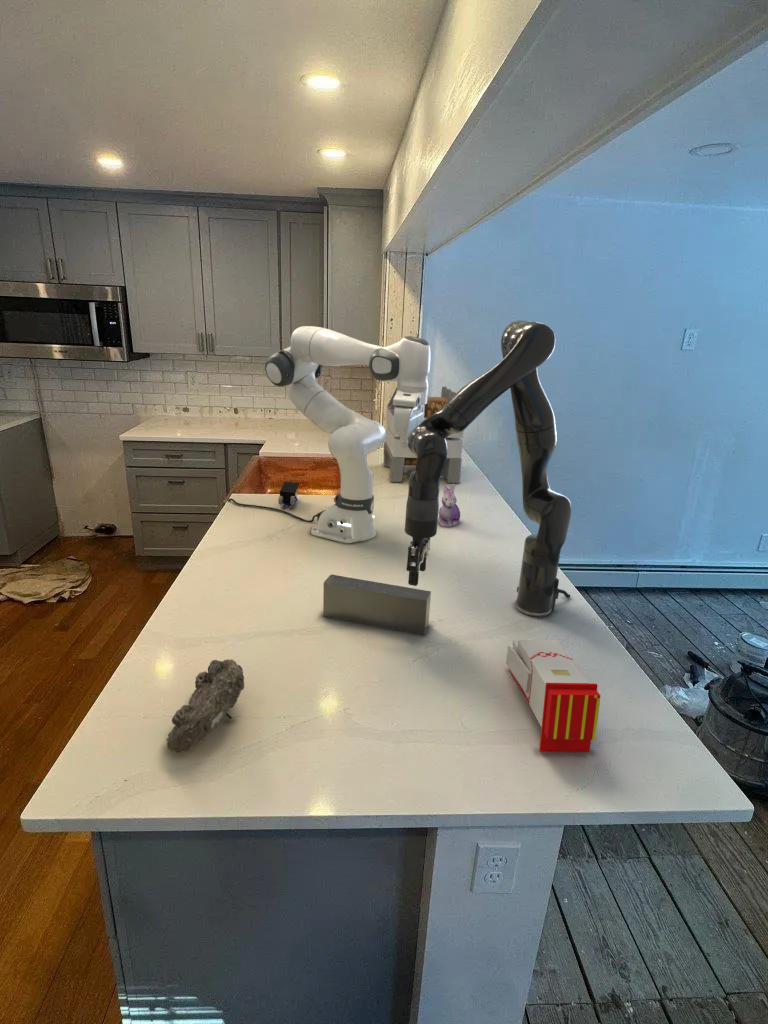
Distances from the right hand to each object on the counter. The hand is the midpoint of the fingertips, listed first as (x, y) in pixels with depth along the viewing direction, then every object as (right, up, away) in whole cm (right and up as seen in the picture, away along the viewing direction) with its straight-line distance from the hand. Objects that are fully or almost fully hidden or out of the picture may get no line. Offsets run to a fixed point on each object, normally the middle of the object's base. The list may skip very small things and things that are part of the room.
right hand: (417, 577), depth 137 cm
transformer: (+9, +35, +138) cm, 143 cm away
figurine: (+16, +11, +75) cm, 78 cm away
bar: (-10, -12, +7) cm, 17 cm away
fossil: (-41, -23, -29) cm, 55 cm away
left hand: (-1, +36, +29) cm, 46 cm away
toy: (+24, -24, -21) cm, 40 cm away
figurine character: (-45, +19, +87) cm, 100 cm away
